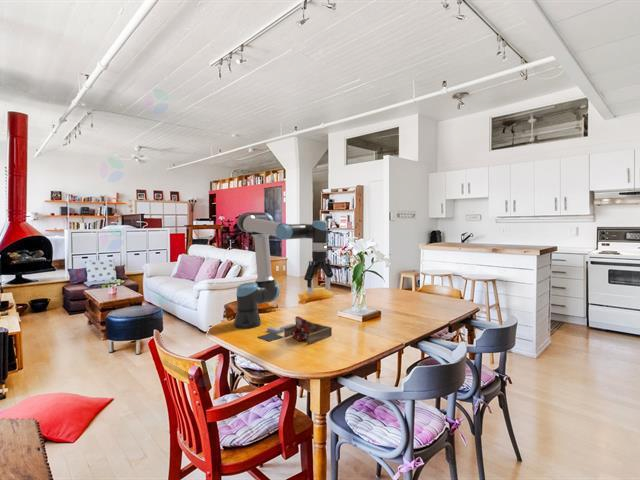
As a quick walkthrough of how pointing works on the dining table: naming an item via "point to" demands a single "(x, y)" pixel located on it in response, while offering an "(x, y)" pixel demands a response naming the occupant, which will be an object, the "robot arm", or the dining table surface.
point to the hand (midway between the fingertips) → (319, 291)
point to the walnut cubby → (318, 334)
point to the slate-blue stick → (274, 330)
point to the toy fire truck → (301, 329)
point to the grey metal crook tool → (285, 327)
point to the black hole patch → (269, 337)
